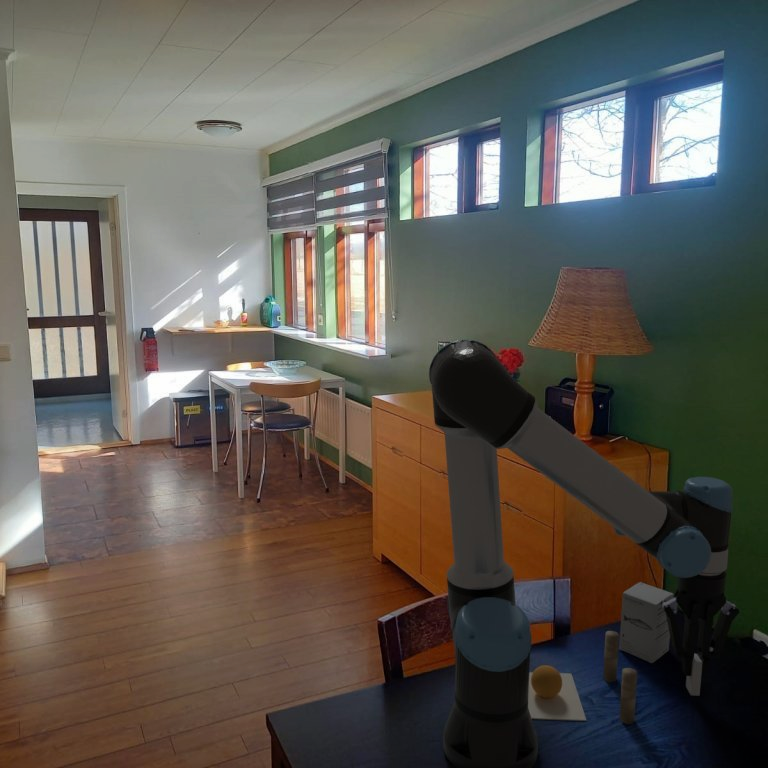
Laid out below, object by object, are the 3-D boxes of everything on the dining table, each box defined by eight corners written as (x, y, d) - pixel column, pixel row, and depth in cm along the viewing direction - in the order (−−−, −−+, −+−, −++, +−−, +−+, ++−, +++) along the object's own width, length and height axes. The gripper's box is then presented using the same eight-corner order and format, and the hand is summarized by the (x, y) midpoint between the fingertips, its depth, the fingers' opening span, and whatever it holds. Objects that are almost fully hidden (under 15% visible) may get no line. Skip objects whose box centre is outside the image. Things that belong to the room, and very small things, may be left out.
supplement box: (617, 650, 149) (621, 591, 147) (636, 637, 154) (640, 580, 152) (652, 665, 144) (656, 604, 141) (670, 651, 149) (674, 592, 146)
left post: (604, 681, 138) (607, 637, 137) (601, 674, 141) (604, 630, 139) (617, 682, 138) (620, 637, 136) (614, 674, 140) (617, 631, 139)
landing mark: (503, 718, 128) (503, 717, 128) (496, 672, 141) (496, 671, 141) (586, 721, 127) (586, 719, 127) (571, 674, 141) (571, 673, 140)
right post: (621, 723, 126) (624, 675, 124) (617, 715, 128) (620, 667, 127) (635, 724, 126) (638, 676, 124) (632, 715, 128) (635, 668, 127)
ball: (553, 670, 130) (570, 694, 131) (548, 653, 136) (565, 676, 136) (527, 686, 131) (544, 709, 132) (523, 669, 136) (540, 691, 137)
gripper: (732, 558, 131) (722, 680, 135) (657, 557, 132) (649, 677, 136) (750, 577, 124) (738, 705, 128) (670, 575, 124) (661, 702, 129)
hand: (692, 690), depth 132 cm, fingers closed
